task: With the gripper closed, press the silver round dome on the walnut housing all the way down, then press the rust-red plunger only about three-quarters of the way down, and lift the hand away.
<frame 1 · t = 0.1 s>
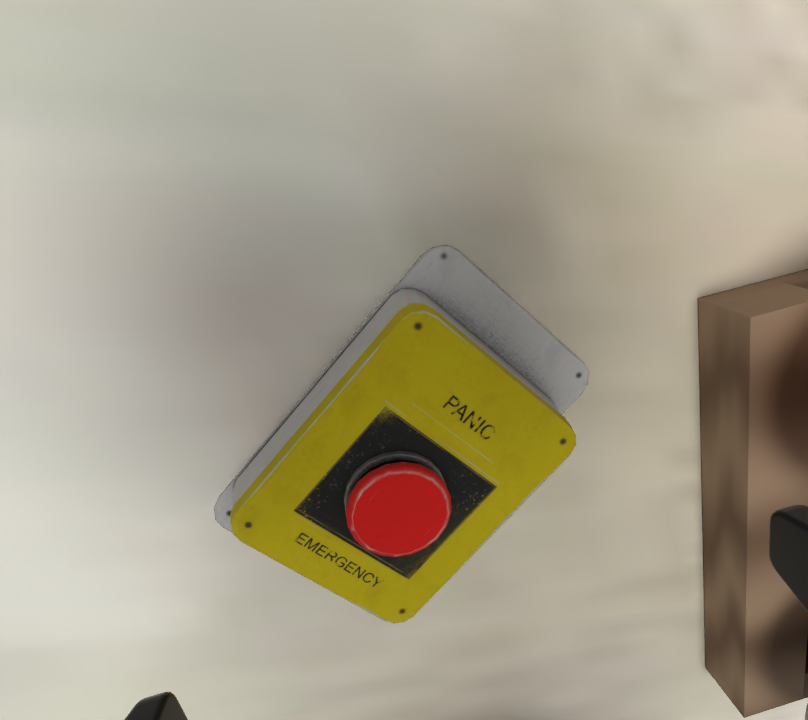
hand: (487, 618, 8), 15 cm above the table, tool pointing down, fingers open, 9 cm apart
housing: (804, 480, 28), on the table
emergency button: (400, 435, 24), on the table
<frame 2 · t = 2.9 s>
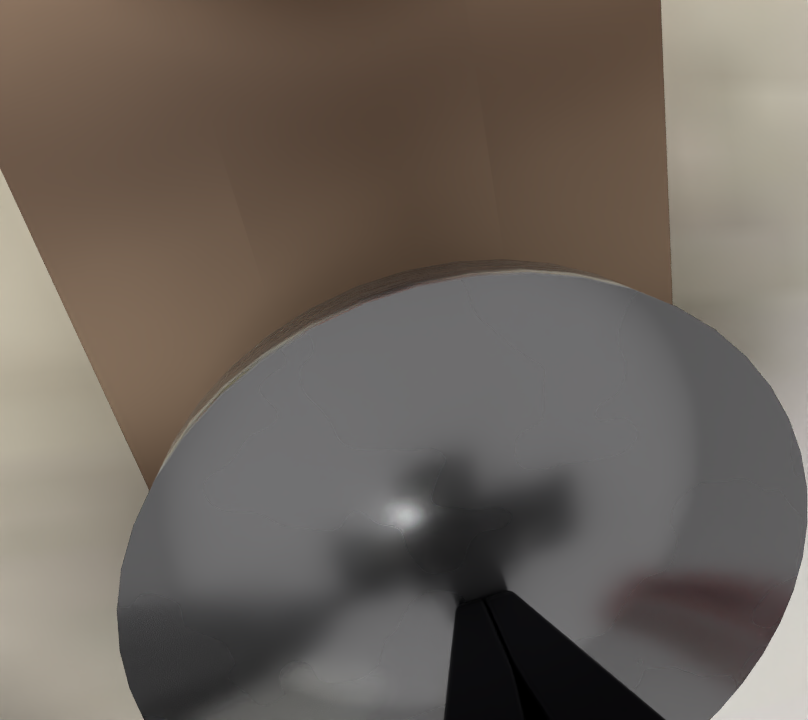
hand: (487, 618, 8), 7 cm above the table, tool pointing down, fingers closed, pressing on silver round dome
housing: (341, 128, 12), on the table
silver round dome: (454, 526, 10), point 5 cm above the table, slide at 0.0 cm, touching gripper
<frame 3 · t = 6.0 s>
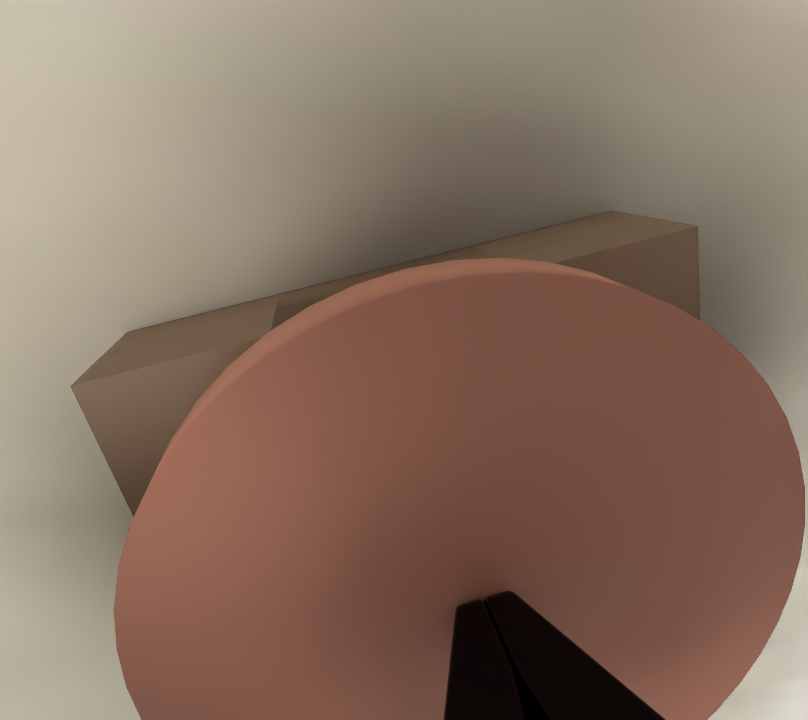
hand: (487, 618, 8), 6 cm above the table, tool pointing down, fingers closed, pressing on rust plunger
housing: (463, 634, 16), on the table
rust plunger: (452, 525, 10), point 4 cm above the table, slide at 0.9 cm, touching gripper
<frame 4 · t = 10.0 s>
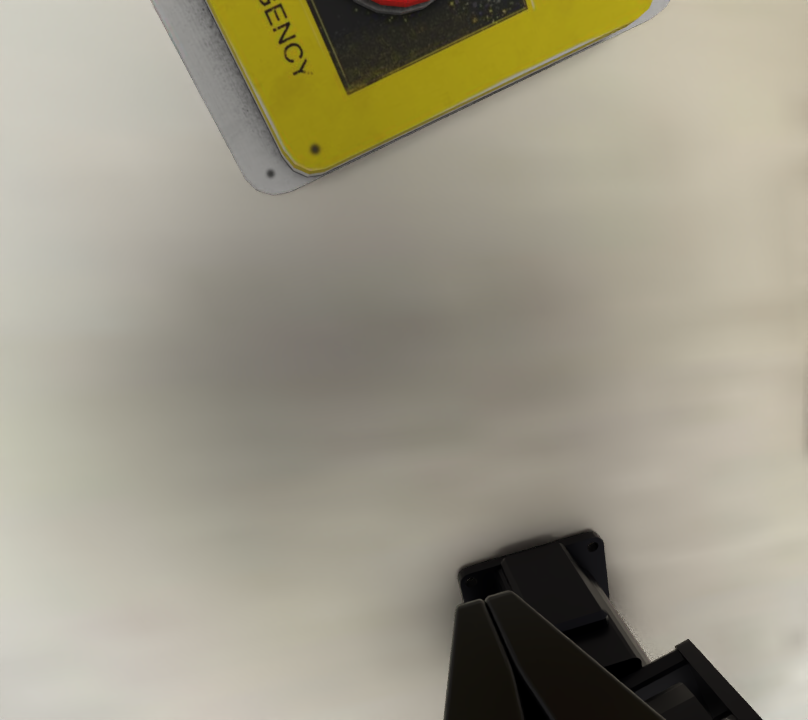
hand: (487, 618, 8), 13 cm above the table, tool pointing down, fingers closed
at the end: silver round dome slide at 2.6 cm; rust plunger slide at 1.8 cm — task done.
